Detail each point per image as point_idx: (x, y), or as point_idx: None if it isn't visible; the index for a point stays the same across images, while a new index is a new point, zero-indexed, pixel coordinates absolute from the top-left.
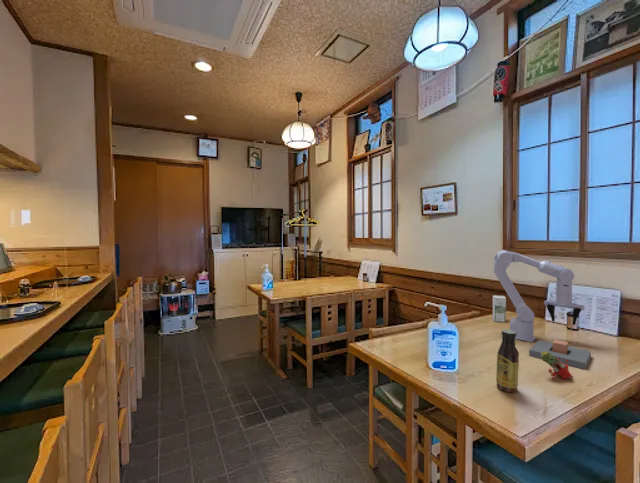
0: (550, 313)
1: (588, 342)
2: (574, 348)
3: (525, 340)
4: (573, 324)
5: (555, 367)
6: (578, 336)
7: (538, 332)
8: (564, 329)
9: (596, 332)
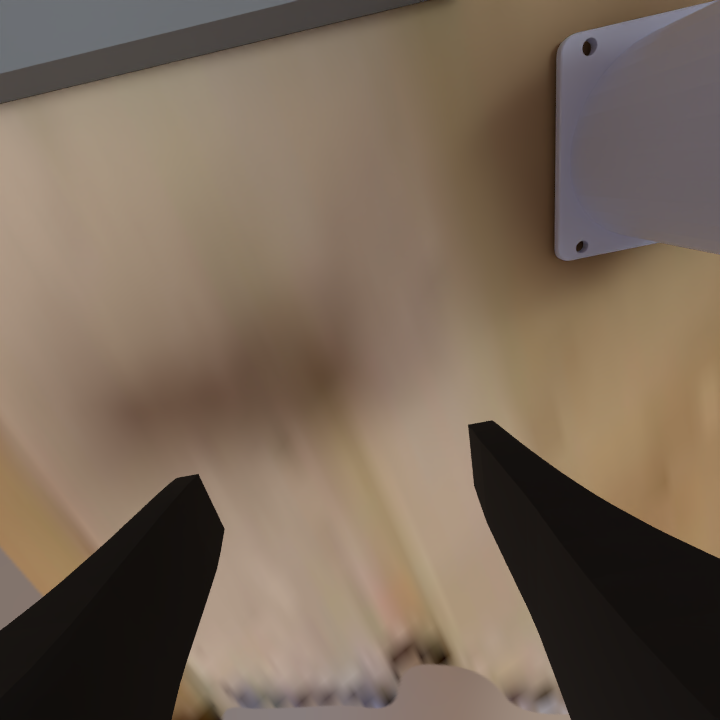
0: (608, 512)
1: (237, 501)
2: (53, 13)
3: (633, 20)
4: (182, 479)
5: None
6: (337, 567)
7: (574, 444)
8: (452, 627)
9: (308, 691)
